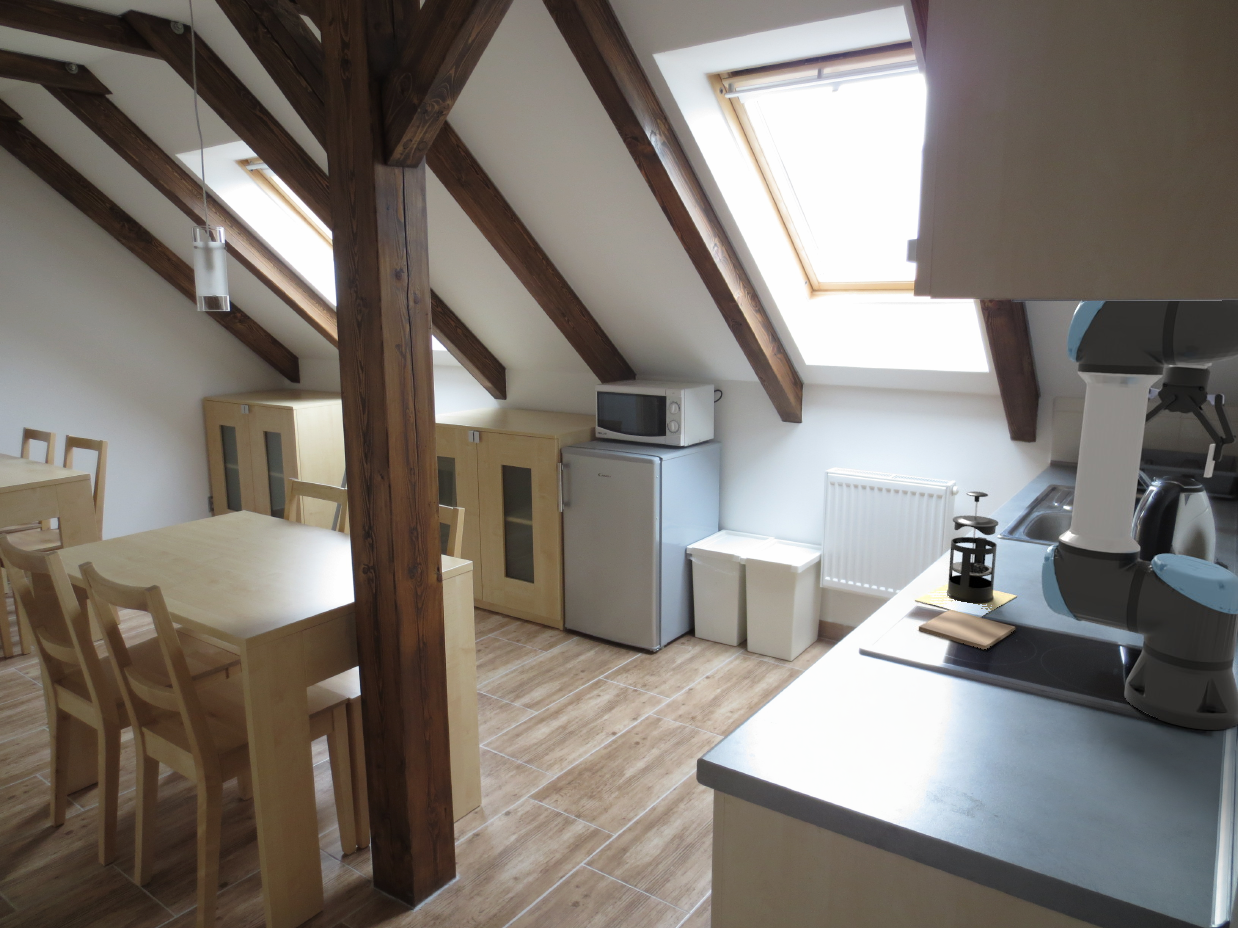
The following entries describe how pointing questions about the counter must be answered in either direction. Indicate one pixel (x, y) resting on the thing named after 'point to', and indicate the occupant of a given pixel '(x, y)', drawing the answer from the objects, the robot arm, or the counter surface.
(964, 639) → the wooden cutting board
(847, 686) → the counter surface
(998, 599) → the recipe card
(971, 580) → the french press
